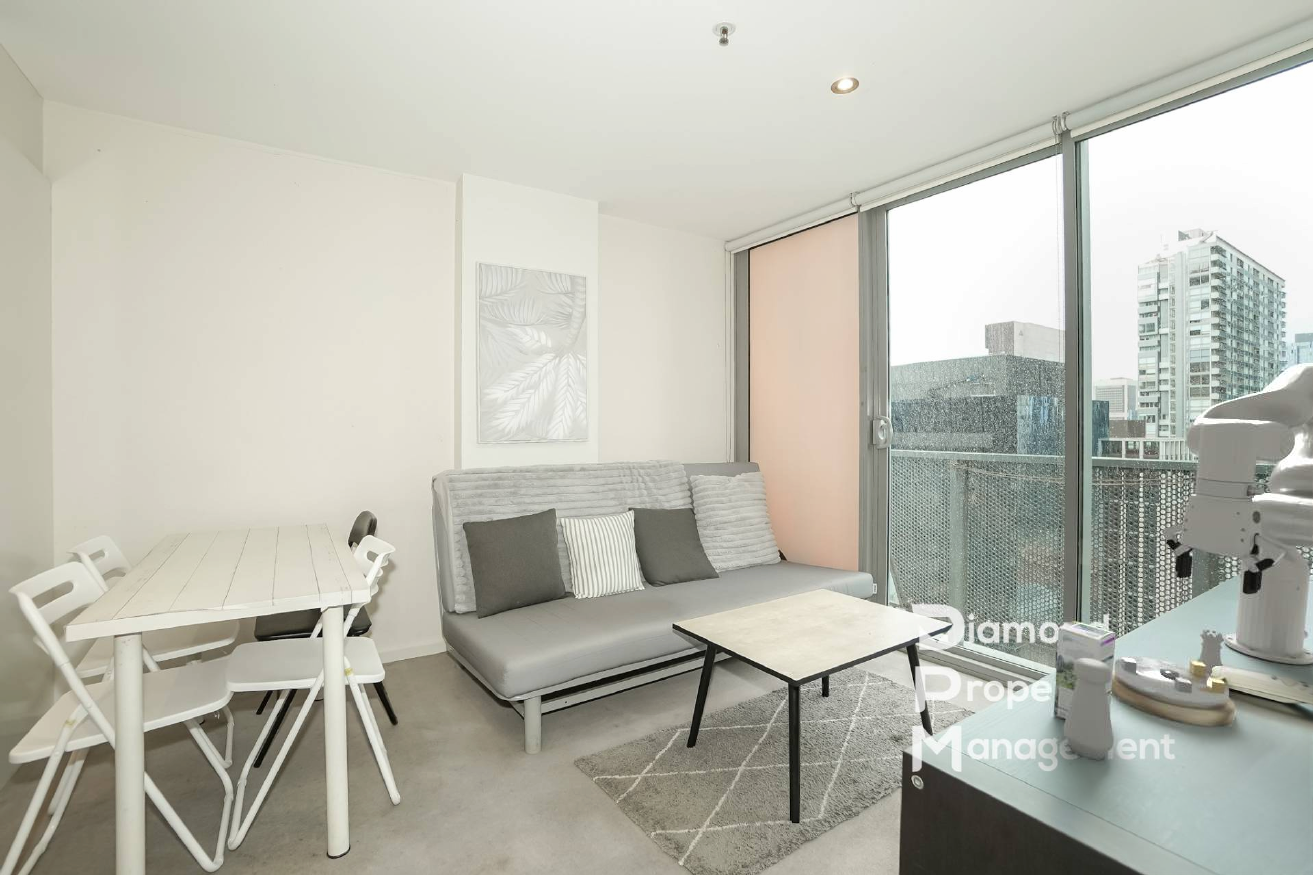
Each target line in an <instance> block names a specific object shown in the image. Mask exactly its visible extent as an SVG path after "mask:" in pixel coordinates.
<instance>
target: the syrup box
mask: <svg viewBox="0 0 1313 875" xmlns="http://www.w3.org/2000/svg"><path fill="white" fill-rule="evenodd" d="M1115 650H1116V632H1115V631H1112V630H1107V629H1104V628H1101V627H1097V626H1094V625H1091V624H1086V623H1083V622H1080V621H1077V620H1073V621H1070V622H1067V623H1064V624H1063V625H1061V626H1059V627H1058V633H1057V650H1056V651H1057V654H1056V666H1055V667H1056V669H1055V673H1056V674H1055V685H1054V687H1055V688H1054V701H1053V702H1054V704H1053V705H1054V706H1053V716H1054V717H1056V718H1059V719H1061V720H1064V721H1065V720H1066V717H1067V714H1068V710H1069V707H1070V703H1071V700H1072V696H1073V693H1074V689H1075V686H1076V682H1077V679H1078V677H1077V676H1076V675H1075V674H1074V663H1075V661H1076V660H1077V659H1080V658H1090V659H1095V660H1098V661H1101V662H1103V663H1105V664H1106V665H1108V666H1109V668H1110V669H1111V680H1110V682H1109V683H1106V691H1107V698H1108V705H1109V712H1110V713H1111V703H1112V702H1111V701H1112V693H1111V688H1112V675H1113V669H1114V664H1115V660H1114V659H1115Z"/></svg>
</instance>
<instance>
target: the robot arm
mask: <svg viewBox="0 0 1313 875" xmlns="http://www.w3.org/2000/svg"><path fill="white" fill-rule="evenodd" d="M1185 441H1186V446H1187V449H1188V450H1189V451H1190V452H1191V453H1192V454H1193V455H1195V456H1197V470H1196V480H1195V491H1194V492H1195V493H1194V494H1193V493H1192V494H1190V497H1189V500H1188V501H1187V506H1186V508H1185V511H1184V515H1183V520H1182V523H1181V524H1178V525H1174V526H1169V527H1166V528H1165V527H1164V528H1163V529H1162V530H1161V532H1162V535H1163V538H1164V540H1165V541H1166V542H1165V543H1166V544H1167V546H1168V547H1169V548H1170V549H1171V550H1172V552H1173V555H1174V556H1176V558H1175V572H1176V577H1177V578H1179V579H1185V578H1190V577H1192V570H1193V569H1192V568H1193V558H1194V557H1193V556H1192V555H1190V554H1191V553H1192V552H1194V551H1195V550H1197V551H1202V552H1205V553H1206V552H1207V553H1211V554H1214V555H1215V554H1216V555H1221V556H1226V557H1231V558H1237V559H1240V561H1241V566H1240V567H1241V568H1240V574H1239V589H1238V598H1237V599H1238V601H1237V612H1236V625H1235V633H1230V634H1229V633H1228V634H1227V635H1225V636H1224V638H1223V639H1224V641H1223V642H1224V643H1225V645H1227V646H1228V647H1229V648H1231V649H1233V650H1236V651H1238V652H1240V653H1241V654H1242V653H1243V654H1245V655H1248V656H1252V657H1256V658H1258V659H1262V660H1267V661H1271V662H1275V663H1282V664H1289V665H1298V666H1299V665H1310V664H1313V653H1312V651H1310V650H1308V649H1306V648H1304V641H1305V639H1307V638H1308V637H1309V633H1308V631H1306V620H1307V610H1308V600H1309V598H1308V597H1309V588H1310V587H1309V586H1310V579H1311V569H1310V567H1309V565H1308V564H1309V563H1308V562H1307V561H1306V559H1305V558H1304V557H1303V555H1302V554H1301V553H1300V552H1299V550H1298V549H1297V548H1296V547H1300V548H1301V547H1302V548H1308V549H1312V550H1313V362H1312V363H1311V362H1310V363H1308V362H1307V363H1301V364H1296V365H1294V366H1291V367H1289V368H1287V369H1285V370H1284V371H1282V373H1280V374H1279V375H1278V376H1277V377H1276V378H1275V379H1274V380H1272V382H1271V383H1269V384H1268V385H1267V386H1266V387H1265V388H1264V389H1263V390H1262V391H1259V392H1256V393H1251V394H1247V395H1245V396H1240V397H1238V398H1235V399H1231V400H1227V401H1223V402H1221V403H1218V404H1215V405H1213V406H1211V407H1209V408H1208V409H1207V410H1205V411H1204V412H1203V413H1201V414H1200V415H1199V416H1198V417H1197V418H1196V419H1195V420H1194V421H1193V423H1192V424H1190V427H1189V429H1188V431H1187V434H1186V440H1185ZM1257 463H1265V464H1267V463H1268V464H1269V463H1276V465H1275V466H1274V468H1273V469H1272V471H1271V474H1270V477H1269V479H1268V482H1267V485H1268V486H1267V487H1268V489H1269V493H1265V489H1264V488H1261V487H1258V486H1256V485H1257V483H1256V482H1255V479H1256V468H1257ZM1178 533H1181V534H1180V535H1181V537H1180V538H1181V542H1180V541H1179V540H1178V539H1177V536H1176V534H1178Z"/></svg>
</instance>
